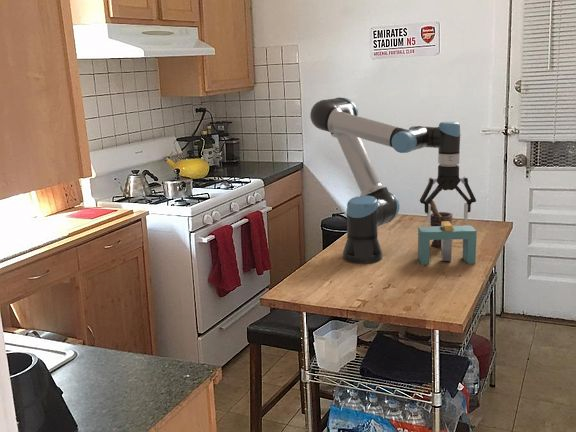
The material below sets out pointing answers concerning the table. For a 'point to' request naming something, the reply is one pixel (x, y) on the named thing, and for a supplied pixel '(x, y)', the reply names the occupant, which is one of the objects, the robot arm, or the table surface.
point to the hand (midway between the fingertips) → (447, 221)
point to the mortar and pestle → (438, 220)
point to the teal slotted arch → (437, 234)
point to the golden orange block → (446, 242)
